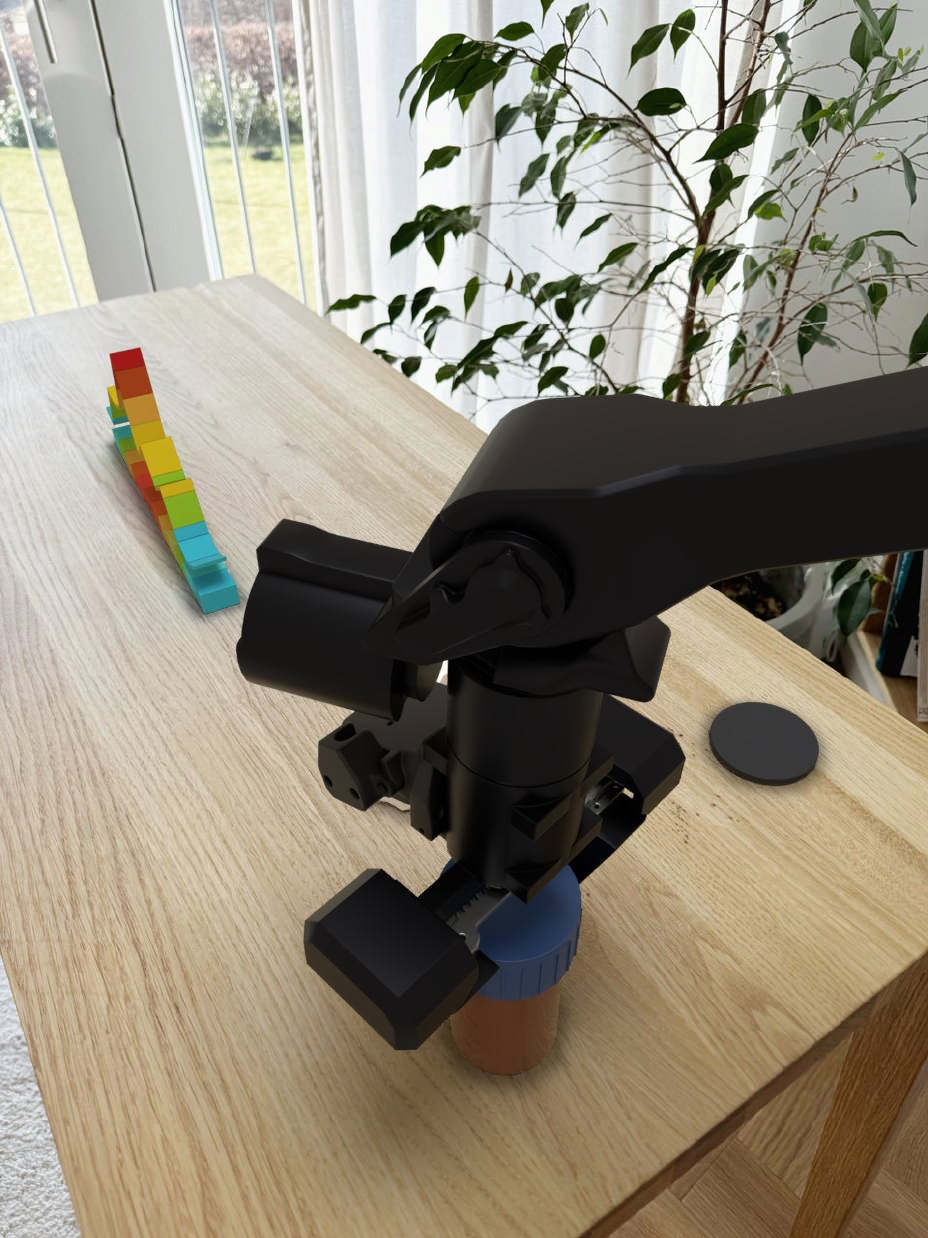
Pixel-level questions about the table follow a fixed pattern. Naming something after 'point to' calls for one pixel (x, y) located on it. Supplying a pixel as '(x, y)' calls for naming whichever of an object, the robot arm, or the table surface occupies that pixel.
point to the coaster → (764, 743)
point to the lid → (532, 939)
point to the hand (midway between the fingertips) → (500, 947)
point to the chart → (165, 482)
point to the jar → (507, 1031)
